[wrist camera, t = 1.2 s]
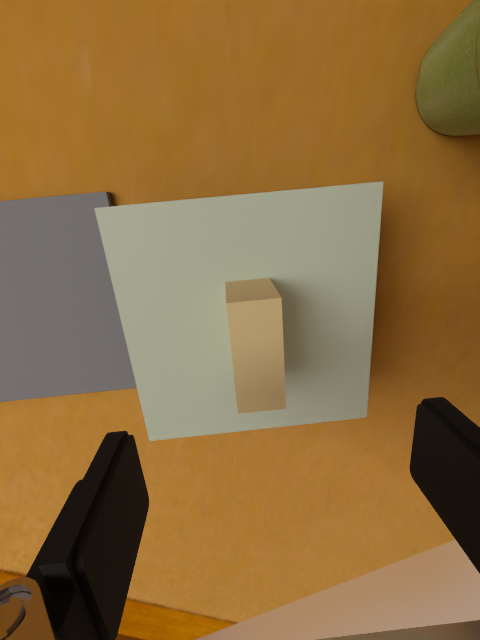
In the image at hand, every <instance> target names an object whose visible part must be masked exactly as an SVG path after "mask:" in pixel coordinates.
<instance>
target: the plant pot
mask: <svg viewBox="0 0 480 640" xmlns="http://www.w3.org/2000/svg"><path fill="white" fill-rule="evenodd" d="M416 103H417V107H418V111H419V113H420V115H421V117H422V119H423V121H424V122H425V123H426V124H427V125H428V126H429V127H430V128H431V129H432V130H434V131H435V132H437V133H440V134H444V135H450V136H462V135H476V134H480V0H473V1H472V2H471V3H470V4H469V5H468V7H467V8H466V9H465V10H464V11H463V12H462V13H461V14H460V15H459V16H458V17H457V18H456V19H455V20H454V21H453V22H452V23H451V24H450V25H449V27H448V28H447V29H446V30H445V31H444V32H443V33H442V34H441V35H440V36H439V37H438V38H437V40H436V41H435V42H434V43H433V44H432V46H431V47H430V49H429V50H428V52H427V53H426V55H425V57H424V59H423V61H422V64H421V69H420V74H419V79H418V84H417V88H416Z"/></svg>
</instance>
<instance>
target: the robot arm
mask: <svg viewBox="0 0 480 640" xmlns="http://www.w3.org/2000/svg"><path fill="white" fill-rule="evenodd" d="M410 473H411V476H412V478H413V480H414V481H415V483H416V484H417V485H418V487H419V488H420V490H421V491H422V492H423V494H424V495H425V497H426V498H427V499H428V501H429V502H430V504H431V505H432V507H433V508H434V509H435V511H436V512H437V514H438V515H439V516H440V518H441V519H442V521H443V522H444V524H445V525H446V526H447V528H448V529H449V531H450V532H451V533H452V535H453V536H454V538H455V539H456V541H457V542H458V543H459V545H460V546H461V547H462V549H463V550H464V552H465V553H466V555H467V556H468V557H469V559H470V560H471V562H472V563H473V565H474V566H475V567H476V569H477V570H478V572H479V573H480V428H479V427H478V426H477V425H476V424H475V423H473V422H472V421H471V420H470V419H469V418H468V417H466V416H465V415H464V414H463V413H462V412H461V411H459V410H458V409H457V408H456V407H455V406H453V405H452V404H451V403H450V402H449V401H448V400H446V399H445V398H443V397H438V398H428V399H423V400H422V402H421V404H419V405H418V406H417V411H416V419H415V428H414V436H413V444H412V452H411V461H410ZM148 508H149V496H148V492H147V488H146V484H145V480H144V476H143V472H142V468H141V464H140V459H139V455H138V451H137V447H136V443H135V439H134V436H133V435H128V433H127V431H120V432H110V433H107V434H106V436H105V438H104V439H103V441H102V443H101V445H100V447H99V449H98V451H97V453H96V455H95V457H94V459H93V461H92V463H91V465H90V467H89V469H88V470H87V472H86V474H85V476H84V478H83V480H79V481H78V482H77V483H76V484H75V486H74V488H73V489H72V491H71V493H70V495H69V497H68V499H67V501H66V502H65V504H64V506H63V508H62V510H61V512H60V514H59V516H58V517H57V519H56V521H55V523H54V525H53V527H52V529H51V531H50V532H49V534H48V536H47V538H46V540H45V542H44V544H43V546H42V547H41V549H40V551H39V553H38V555H37V557H36V559H35V560H34V562H33V564H32V566H31V568H30V570H29V572H28V574H27V575H26V577H19V578H16V579H13V580H10V581H7V582H5V583H3V584H2V585H0V640H115V639H116V637H117V634H118V630H119V626H120V622H121V618H122V614H123V610H124V606H125V602H126V598H127V594H128V590H129V586H130V581H131V577H132V573H133V569H134V565H135V561H136V557H137V553H138V549H139V545H140V541H141V537H142V533H143V529H144V525H145V521H146V517H147V512H148ZM318 640H480V620H477V621H470V622H460V623H451V624H442V625H435V626H426V627H416V628H408V629H400V630H391V631H383V632H376V633H367V634H358V635H350V636H342V637H334V638H327V639H318Z"/></svg>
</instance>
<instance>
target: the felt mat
mask: <svg viewBox="0 0 480 640" xmlns="http://www.w3.org/2000/svg"><path fill="white" fill-rule="evenodd" d="M111 206H112V203H111V198H110V194H109V192H98V193H87V194H76V195H65V196H54V197H43V198H32V199H21V200H10V201H0V402H4V401H14V400H23V399H33V398H42V397H52V396H61V395H71V394H81V393H90V392H100V391H109V390H119V389H128V388H137V386H136V382H135V378H134V373H133V369H132V365H131V361H130V357H129V352H128V348H127V344H126V340H125V336H124V331H123V327H122V323H121V319H120V314H119V310H118V306H117V302H116V298H115V293H114V289H113V285H112V281H111V277H110V272H109V268H108V264H107V260H106V256H105V251H104V247H103V243H102V239H101V235H100V230H99V226H98V222H97V218H96V213H95V209H94V208H100V207H111Z"/></svg>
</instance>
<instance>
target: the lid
mask: <svg viewBox="0 0 480 640" xmlns="http://www.w3.org/2000/svg"><path fill="white" fill-rule="evenodd" d="M382 195H383V182H372V183H361V184H351V185H340V186H329V187H318V188H307V189H296V190H285V191H274V192H263V193H253V194H242V195H231V196H220V197H209V198H198V199H187V200H176V201H166V202H155V203H144V204H133V205H122V206H111V207H100V208H94V209H95V213H96V218H97V222H98V226H99V230H100V235H101V239H102V243H103V247H104V251H105V256H106V260H107V264H108V268H109V272H110V277H111V281H112V285H113V289H114V293H115V298H116V302H117V306H118V310H119V314H120V319H121V323H122V327H123V331H124V336H125V340H126V344H127V348H128V352H129V357H130V361H131V365H132V369H133V373H134V378H135V382H136V386H137V390H138V394H139V399H140V403H141V407H142V411H143V416H144V420H145V424H146V428H147V432H148V437H149V441H154V440H163V439H172V438H182V437H191V436H200V435H209V434H219V433H228V432H237V431H246V430H255V429H265V428H274V427H283V426H292V425H302V424H311V423H320V422H329V421H339V420H348V419H357V418H366V417H367V407H368V393H369V379H370V364H371V350H372V336H373V322H374V308H375V294H376V280H377V265H378V251H379V237H380V223H381V209H382Z"/></svg>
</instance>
